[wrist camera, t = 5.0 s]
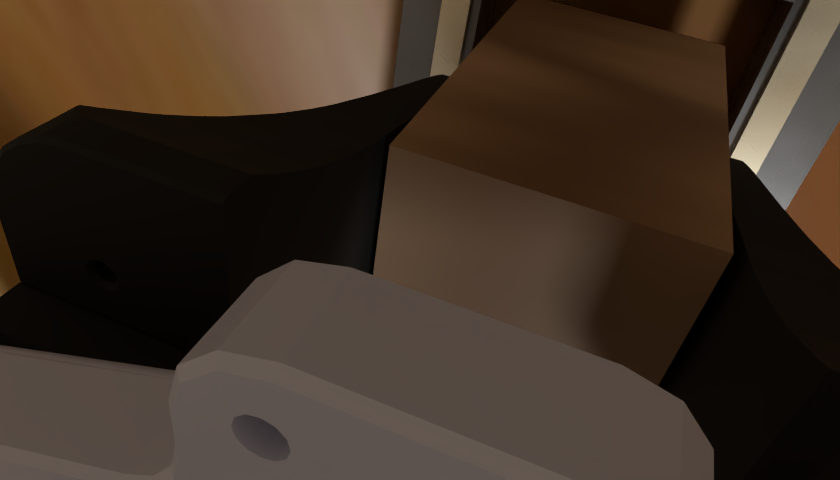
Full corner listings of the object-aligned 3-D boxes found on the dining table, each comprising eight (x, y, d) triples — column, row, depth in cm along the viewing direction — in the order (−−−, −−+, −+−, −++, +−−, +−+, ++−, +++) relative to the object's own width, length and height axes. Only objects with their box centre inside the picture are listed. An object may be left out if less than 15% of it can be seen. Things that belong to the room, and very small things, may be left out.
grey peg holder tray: (366, 406, 25) (348, 439, 24) (456, -223, 13) (427, -223, 11) (594, 498, 23) (588, 539, 22) (953, -126, 11) (984, -113, 10)
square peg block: (483, 162, 16) (361, 365, 10) (522, -7, 13) (388, 144, 8) (649, 214, 15) (612, 463, 9) (725, 45, 12) (733, 253, 7)
